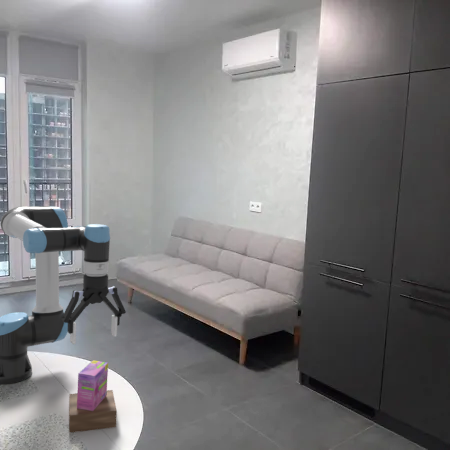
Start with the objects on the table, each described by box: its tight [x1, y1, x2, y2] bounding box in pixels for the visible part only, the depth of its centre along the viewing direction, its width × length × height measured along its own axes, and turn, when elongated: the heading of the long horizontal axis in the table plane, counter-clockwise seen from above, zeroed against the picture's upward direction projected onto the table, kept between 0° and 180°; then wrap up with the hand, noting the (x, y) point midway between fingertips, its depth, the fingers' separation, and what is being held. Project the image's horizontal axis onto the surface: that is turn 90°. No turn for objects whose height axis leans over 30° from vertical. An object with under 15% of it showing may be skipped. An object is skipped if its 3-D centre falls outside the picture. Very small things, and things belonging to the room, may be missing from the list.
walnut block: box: [68, 389, 117, 433], centre depth 148 cm, size 14×14×6 cm
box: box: [77, 360, 109, 411], centre depth 147 cm, size 10×6×12 cm, turn 171°
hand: (94, 339), depth 145 cm, fingers open, 13 cm apart
